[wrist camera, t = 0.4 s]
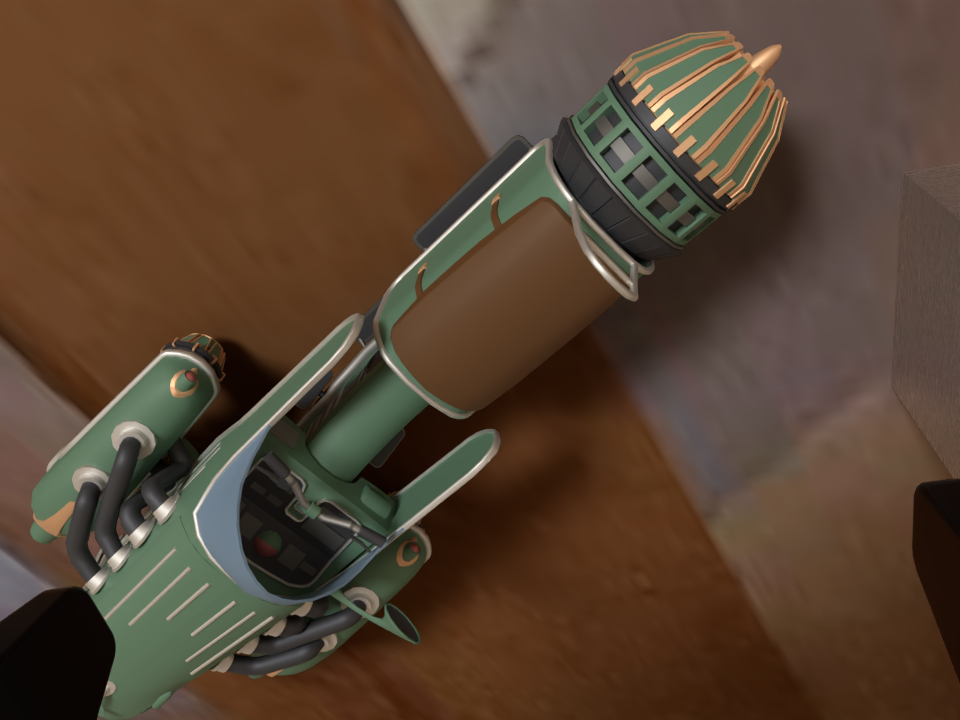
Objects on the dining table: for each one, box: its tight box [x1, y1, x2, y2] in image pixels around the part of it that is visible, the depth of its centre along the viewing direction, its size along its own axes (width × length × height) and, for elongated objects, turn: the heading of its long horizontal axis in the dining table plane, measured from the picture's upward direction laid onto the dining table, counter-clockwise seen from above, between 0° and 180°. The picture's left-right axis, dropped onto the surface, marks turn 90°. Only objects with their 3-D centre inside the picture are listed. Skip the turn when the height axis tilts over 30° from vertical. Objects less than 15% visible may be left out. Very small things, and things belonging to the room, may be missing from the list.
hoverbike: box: [30, 31, 788, 720], centre depth 20 cm, size 10×25×8 cm, turn 136°
